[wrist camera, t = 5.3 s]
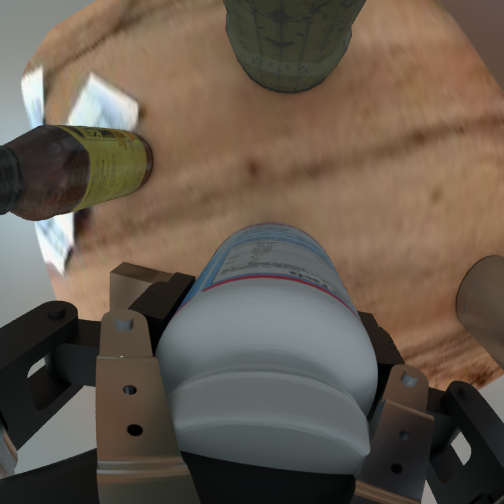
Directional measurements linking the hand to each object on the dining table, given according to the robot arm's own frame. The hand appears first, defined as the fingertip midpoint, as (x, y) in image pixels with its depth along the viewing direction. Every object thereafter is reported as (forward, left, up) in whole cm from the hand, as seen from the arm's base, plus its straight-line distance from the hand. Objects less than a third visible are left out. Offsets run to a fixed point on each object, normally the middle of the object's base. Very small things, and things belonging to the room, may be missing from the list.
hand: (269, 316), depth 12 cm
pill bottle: (0, 0, -4) cm, 4 cm away
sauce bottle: (+15, -3, -18) cm, 23 cm away
